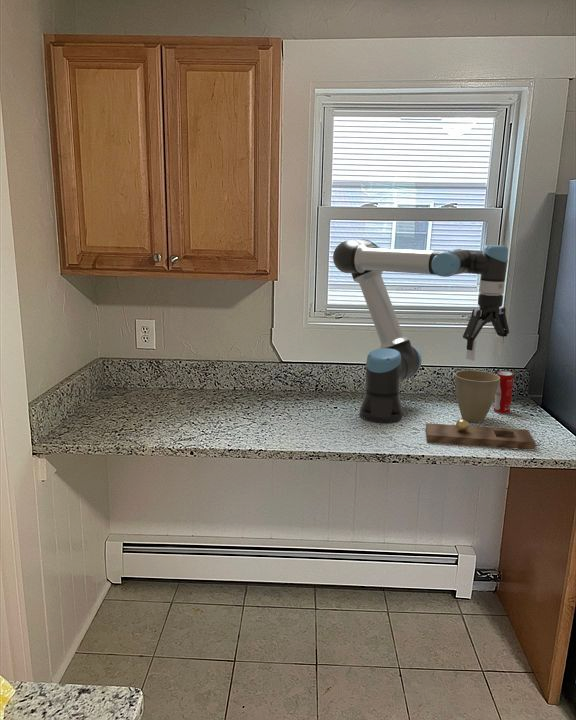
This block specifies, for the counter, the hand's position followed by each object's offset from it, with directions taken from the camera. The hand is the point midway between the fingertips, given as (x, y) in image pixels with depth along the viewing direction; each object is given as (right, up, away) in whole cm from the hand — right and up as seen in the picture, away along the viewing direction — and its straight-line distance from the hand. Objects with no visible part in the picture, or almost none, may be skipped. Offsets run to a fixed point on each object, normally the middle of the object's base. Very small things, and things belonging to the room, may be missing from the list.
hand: (483, 357), depth 193 cm
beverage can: (+12, -20, +18) cm, 30 cm away
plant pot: (0, -22, +10) cm, 24 cm away
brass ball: (-10, -22, -9) cm, 25 cm away
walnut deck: (-5, -26, -9) cm, 28 cm away
